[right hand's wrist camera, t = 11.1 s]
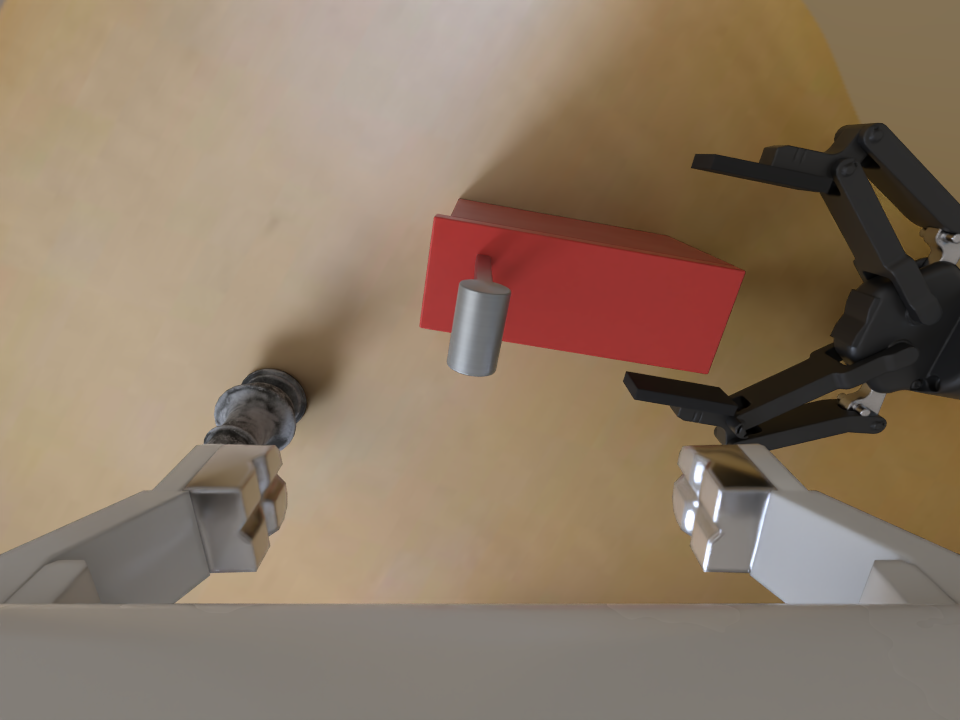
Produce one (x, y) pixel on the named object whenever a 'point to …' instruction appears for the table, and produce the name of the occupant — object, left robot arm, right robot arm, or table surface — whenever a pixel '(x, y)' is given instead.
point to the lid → (571, 298)
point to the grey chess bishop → (259, 411)
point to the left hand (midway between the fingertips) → (662, 282)
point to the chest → (578, 229)
